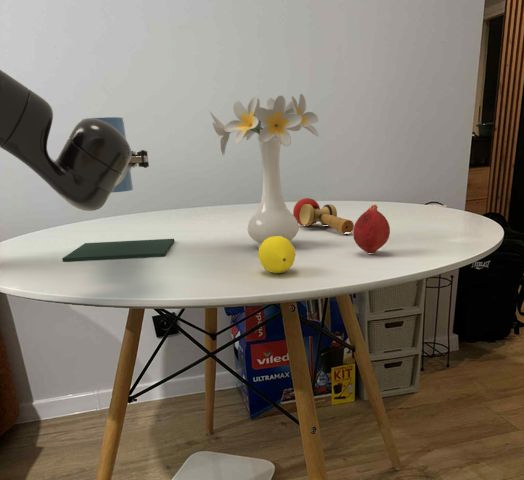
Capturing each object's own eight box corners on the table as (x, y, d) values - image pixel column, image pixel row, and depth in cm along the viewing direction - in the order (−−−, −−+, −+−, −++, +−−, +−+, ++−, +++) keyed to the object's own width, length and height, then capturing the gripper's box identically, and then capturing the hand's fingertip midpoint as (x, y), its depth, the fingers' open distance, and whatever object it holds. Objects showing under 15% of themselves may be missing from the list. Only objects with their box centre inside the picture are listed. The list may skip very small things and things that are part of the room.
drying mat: (62, 261, 88) (62, 258, 88) (85, 246, 101) (85, 243, 101) (164, 256, 89) (164, 252, 88) (174, 241, 101) (174, 238, 101)
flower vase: (215, 245, 96) (203, 99, 86) (307, 237, 99) (305, 96, 90) (227, 259, 84) (215, 92, 74) (331, 249, 88) (332, 89, 78)
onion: (369, 260, 79) (371, 207, 76) (345, 254, 84) (346, 204, 81) (395, 254, 82) (399, 204, 79) (371, 249, 86) (373, 201, 83)
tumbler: (80, 120, 88) (92, 191, 93) (83, 117, 82) (96, 193, 87) (119, 119, 91) (129, 188, 95) (125, 116, 85) (135, 190, 89)
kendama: (364, 238, 102) (315, 216, 116) (364, 208, 98) (313, 189, 112) (333, 250, 100) (286, 226, 113) (332, 219, 96) (283, 199, 109)
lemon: (254, 269, 77) (252, 233, 75) (288, 265, 78) (287, 230, 76) (265, 280, 70) (264, 242, 68) (302, 276, 72) (301, 238, 70)
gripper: (57, 191, 76) (72, 184, 91) (153, 185, 78) (152, 179, 93) (46, 137, 73) (64, 139, 88) (147, 133, 75) (147, 135, 90)
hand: (109, 159), depth 91 cm, fingers closed on tumbler, 7 cm apart
